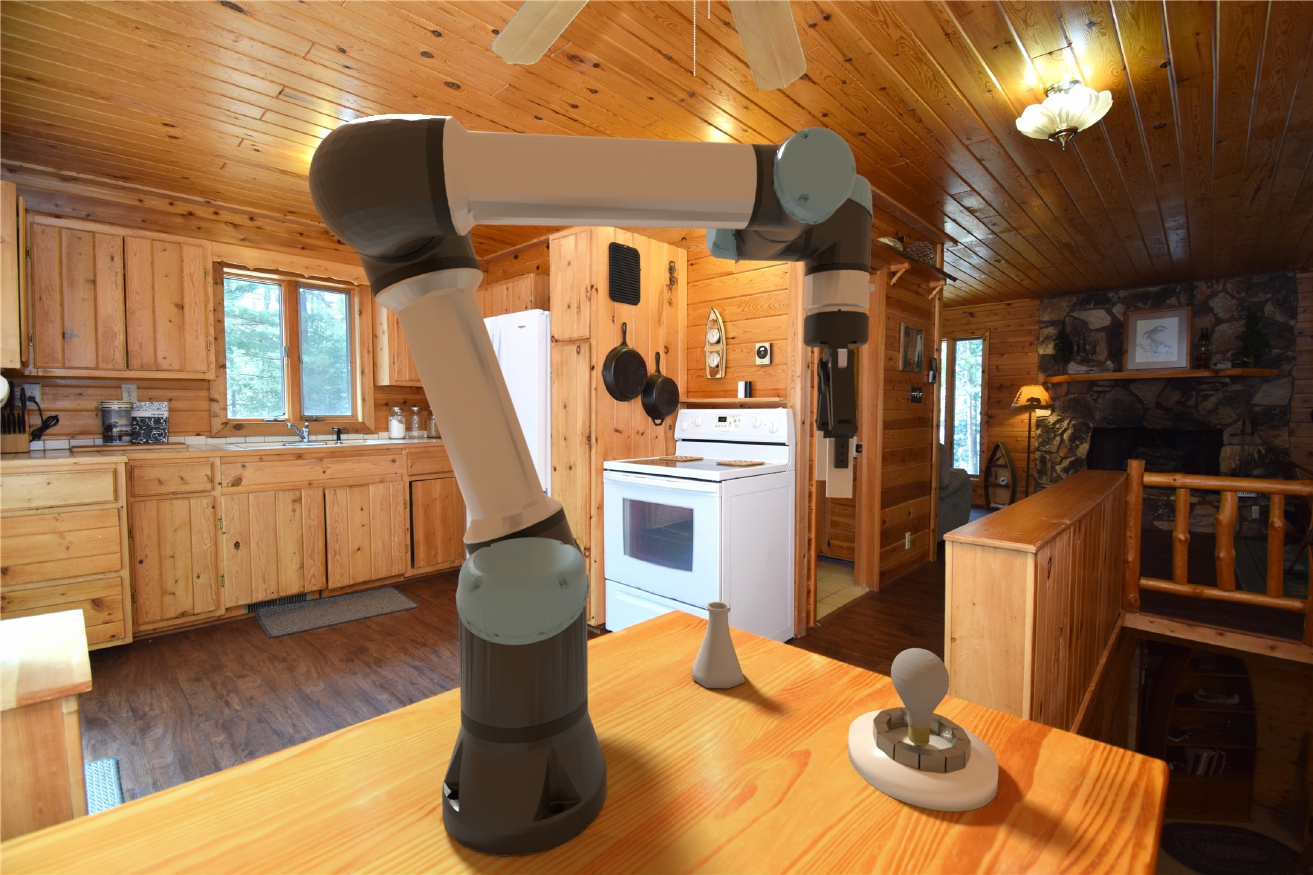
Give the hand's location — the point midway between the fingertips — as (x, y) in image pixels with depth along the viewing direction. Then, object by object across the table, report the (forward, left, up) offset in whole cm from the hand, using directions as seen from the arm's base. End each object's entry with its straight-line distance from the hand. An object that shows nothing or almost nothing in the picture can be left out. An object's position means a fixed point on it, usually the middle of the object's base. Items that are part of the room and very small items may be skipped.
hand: (832, 488), depth 72 cm
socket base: (+8, -12, -27) cm, 30 cm away
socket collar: (+8, -12, -25) cm, 29 cm away
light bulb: (+8, -12, -25) cm, 29 cm away
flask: (-14, +3, -27) cm, 31 cm away
